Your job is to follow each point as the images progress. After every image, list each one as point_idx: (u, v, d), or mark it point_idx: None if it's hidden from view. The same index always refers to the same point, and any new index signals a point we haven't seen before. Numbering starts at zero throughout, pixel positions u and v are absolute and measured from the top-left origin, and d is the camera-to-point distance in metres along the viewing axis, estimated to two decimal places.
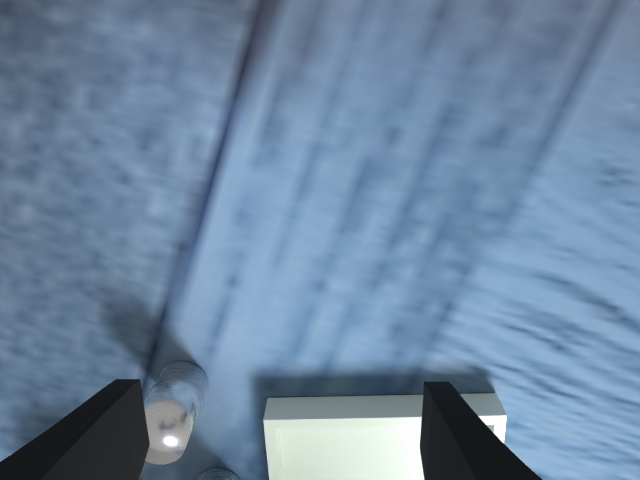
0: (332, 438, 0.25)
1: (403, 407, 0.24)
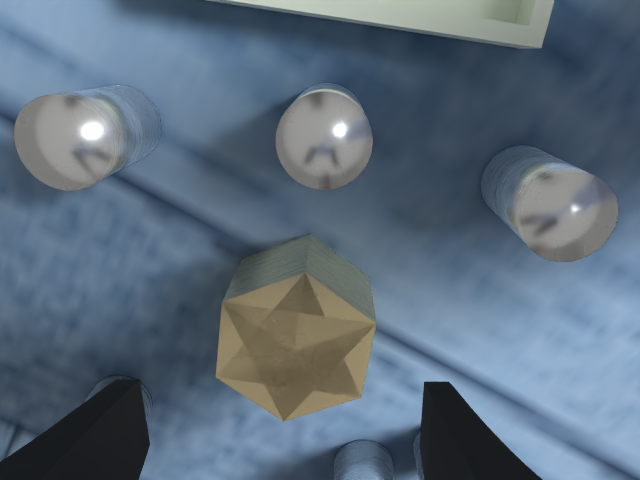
0: None
1: None
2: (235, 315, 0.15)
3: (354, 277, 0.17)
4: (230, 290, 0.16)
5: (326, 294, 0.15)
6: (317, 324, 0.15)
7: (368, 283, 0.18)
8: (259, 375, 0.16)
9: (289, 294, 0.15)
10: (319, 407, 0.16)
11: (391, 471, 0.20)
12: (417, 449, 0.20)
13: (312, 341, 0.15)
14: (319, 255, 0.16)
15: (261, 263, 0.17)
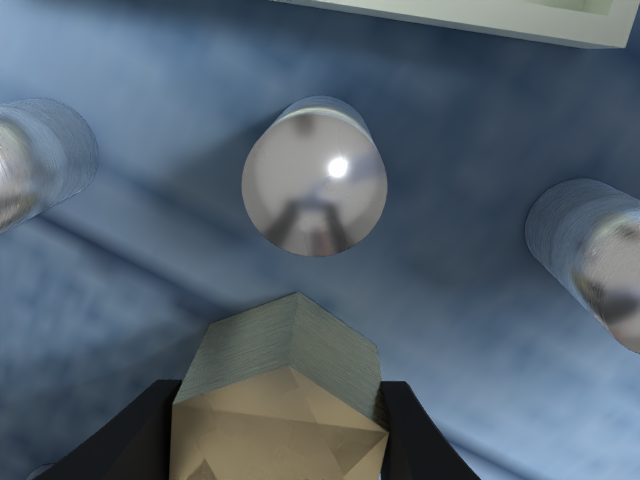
0: None
1: None
2: (192, 422, 0.11)
3: (357, 354, 0.13)
4: (186, 382, 0.11)
5: (318, 394, 0.10)
6: (306, 433, 0.11)
7: (375, 359, 0.13)
8: None
9: (266, 394, 0.11)
10: None
11: None
12: None
13: (300, 455, 0.11)
14: (309, 328, 0.12)
15: (232, 337, 0.12)
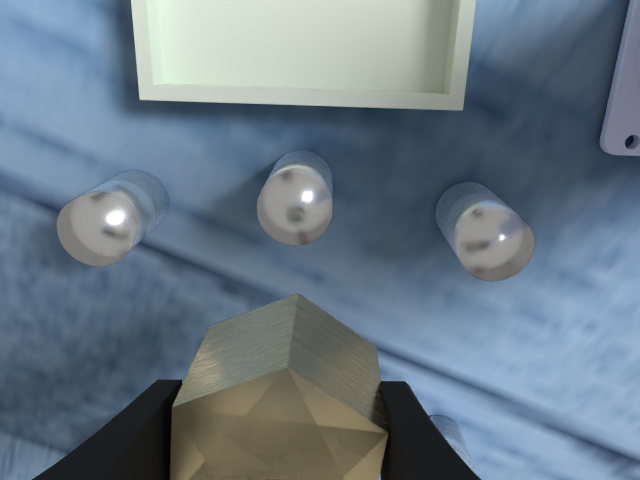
0: (207, 5, 0.17)
1: None
2: (191, 424, 0.11)
3: (356, 355, 0.13)
4: (186, 385, 0.11)
5: (317, 396, 0.10)
6: (305, 434, 0.11)
7: (375, 359, 0.13)
8: None
9: (265, 396, 0.11)
10: None
11: None
12: None
13: (300, 456, 0.11)
14: (308, 329, 0.12)
15: (231, 339, 0.13)
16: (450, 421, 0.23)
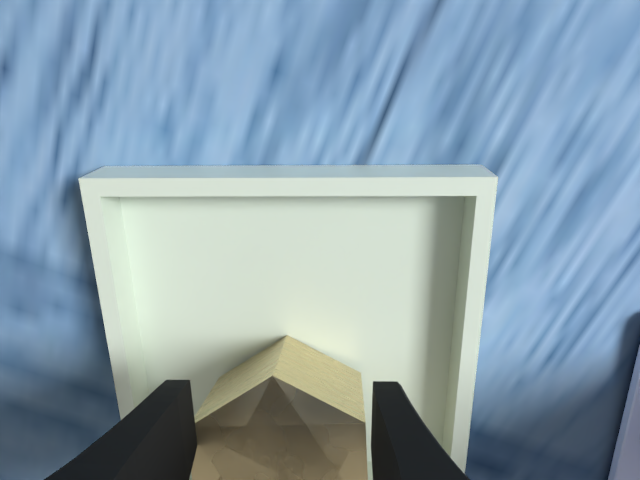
0: (198, 399, 0.17)
1: None
2: (205, 441, 0.13)
3: (340, 375, 0.15)
4: (199, 413, 0.14)
5: (301, 397, 0.13)
6: (298, 435, 0.13)
7: (358, 380, 0.16)
8: None
9: (260, 405, 0.13)
10: None
11: None
12: None
13: (297, 458, 0.13)
14: (295, 356, 0.15)
15: (235, 377, 0.15)
16: None
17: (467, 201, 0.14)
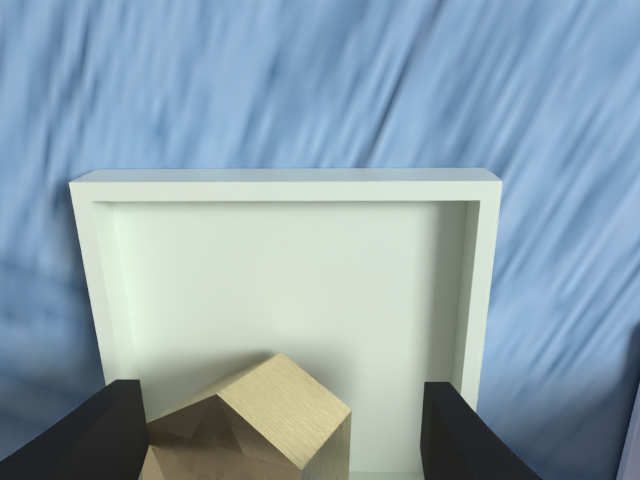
0: None
1: None
2: (154, 442, 0.13)
3: (316, 408, 0.14)
4: (162, 413, 0.14)
5: (240, 424, 0.12)
6: (235, 463, 0.12)
7: (339, 418, 0.14)
8: None
9: (203, 421, 0.12)
10: None
11: None
12: None
13: None
14: (269, 377, 0.14)
15: (215, 385, 0.15)
16: None
17: (470, 205, 0.14)
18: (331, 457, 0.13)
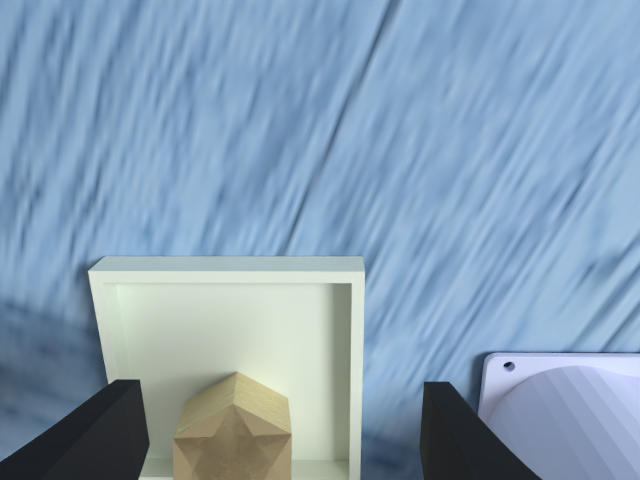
0: (172, 414, 0.24)
1: None
2: (184, 447, 0.20)
3: (274, 401, 0.22)
4: (178, 428, 0.20)
5: (251, 417, 0.20)
6: (247, 442, 0.20)
7: (286, 404, 0.23)
8: None
9: (223, 422, 0.20)
10: None
11: None
12: None
13: (246, 457, 0.20)
14: (244, 388, 0.22)
15: (201, 402, 0.22)
16: None
17: None
18: None
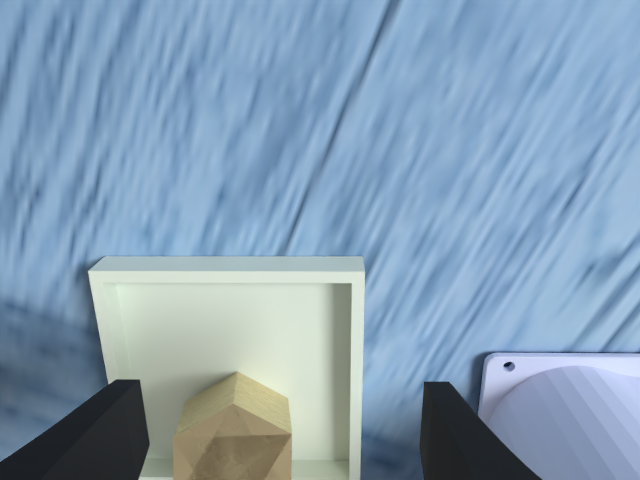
0: (172, 414, 0.24)
1: None
2: (184, 447, 0.20)
3: (274, 401, 0.22)
4: (178, 428, 0.20)
5: (251, 417, 0.20)
6: (247, 442, 0.20)
7: (286, 404, 0.23)
8: None
9: (223, 422, 0.20)
10: None
11: None
12: None
13: (246, 457, 0.20)
14: (244, 388, 0.22)
15: (201, 402, 0.22)
16: None
17: None
18: None
